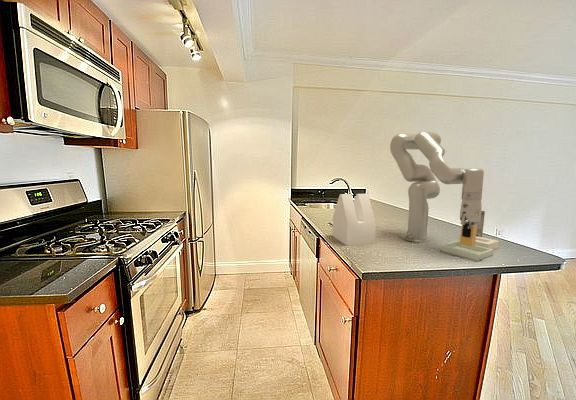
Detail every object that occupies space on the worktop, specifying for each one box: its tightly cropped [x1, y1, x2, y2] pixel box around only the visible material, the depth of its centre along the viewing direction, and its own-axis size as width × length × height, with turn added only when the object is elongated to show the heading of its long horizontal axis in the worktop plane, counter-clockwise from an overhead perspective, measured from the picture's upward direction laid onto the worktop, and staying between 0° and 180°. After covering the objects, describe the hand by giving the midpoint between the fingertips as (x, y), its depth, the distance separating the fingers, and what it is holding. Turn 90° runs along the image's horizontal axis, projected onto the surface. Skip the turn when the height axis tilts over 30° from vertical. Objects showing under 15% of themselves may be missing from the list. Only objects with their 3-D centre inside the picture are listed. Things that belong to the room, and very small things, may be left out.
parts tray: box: [439, 240, 495, 263], centre depth 125 cm, size 14×16×3 cm
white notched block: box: [332, 193, 376, 246], centre depth 146 cm, size 19×15×25 cm
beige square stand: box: [475, 236, 500, 251], centre depth 134 cm, size 11×11×4 cm
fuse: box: [459, 223, 477, 247], centre depth 124 cm, size 3×5×10 cm, turn 32°
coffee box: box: [476, 210, 486, 238], centre depth 146 cm, size 9×6×16 cm
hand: (468, 235), depth 124 cm, fingers closed on fuse, 3 cm apart
